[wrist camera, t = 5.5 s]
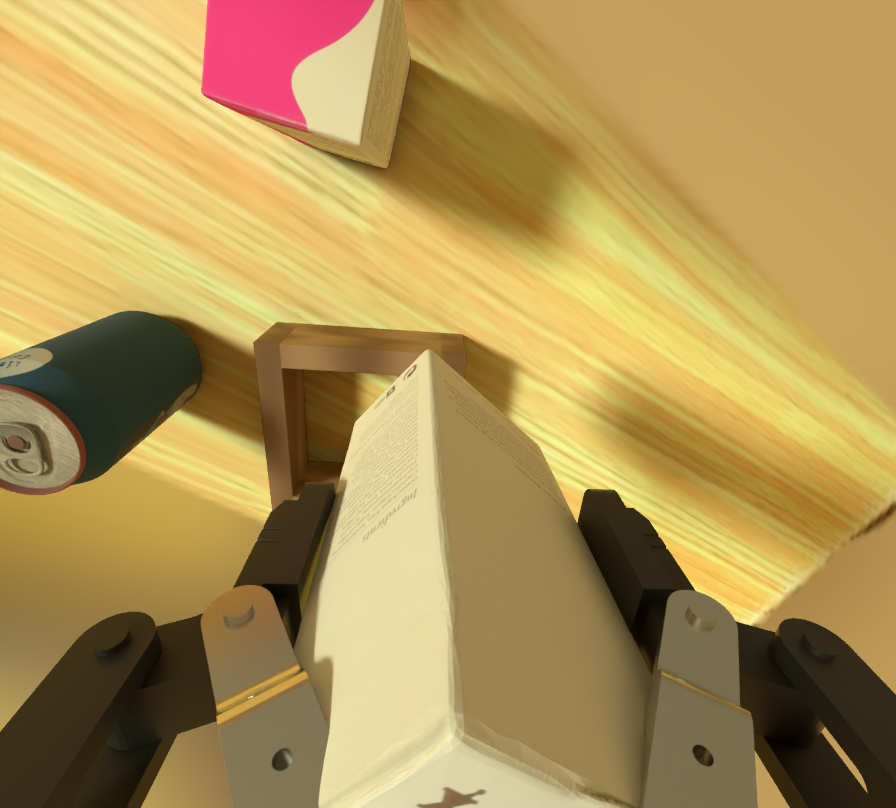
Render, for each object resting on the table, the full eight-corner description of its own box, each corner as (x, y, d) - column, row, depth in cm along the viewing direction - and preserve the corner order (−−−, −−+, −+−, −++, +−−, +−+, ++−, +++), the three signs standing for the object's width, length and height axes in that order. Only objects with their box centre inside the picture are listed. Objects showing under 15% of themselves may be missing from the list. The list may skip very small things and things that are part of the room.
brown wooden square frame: (290, 476, 36) (272, 513, 32) (277, 322, 30) (253, 342, 26) (447, 483, 36) (449, 520, 32) (461, 334, 31) (466, 356, 27)
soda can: (97, 297, 29) (-99, 360, 18) (208, 315, 30) (82, 386, 19) (112, 393, 32) (-51, 496, 21) (212, 407, 33) (105, 513, 22)
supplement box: (413, 53, 24) (401, -49, 14) (388, 171, 27) (362, 159, 16) (305, 13, 23) (207, -128, 13) (290, 139, 26) (196, 105, 15)
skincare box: (350, 423, 16) (187, 892, 5) (433, 337, 15) (438, 725, 4) (469, 513, 18) (525, 989, 7) (552, 443, 17) (768, 897, 6)
